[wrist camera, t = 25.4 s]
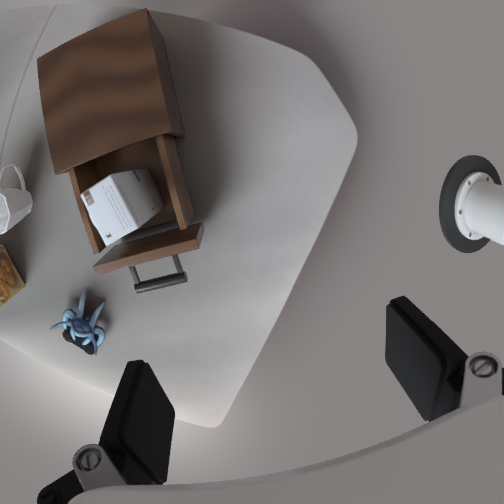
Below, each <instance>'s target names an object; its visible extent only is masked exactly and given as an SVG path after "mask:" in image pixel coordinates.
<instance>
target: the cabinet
mask: <svg viewBox="0 0 504 504" xmlns="http://www.w3.org/2000/svg"><path fill="white" fill-rule="evenodd" d="M37 67H38V78H39V88H40V96H41V104H42V110H43V117H44V123H45V129H46V134H47V139H48V144H49V149H50V154H51V158H52V163H53V167H54V171H55V175H57V174H62V173H67V172H69V171H68V170H69V169H71V168H74V167H76V166H78V165H81V164H83V163H85V162H88V161H90V160H93V159H95V158H98V157H100V156H103V155H105V154H108V153H111V152H113V151H116V150H119V149H121V148H124V147H127V146H130V145H133V144H135V143H138V142H141V141H144V140H147V139H150V138H153V137H157V136H160V135H163V134H166V133H167V134H171V135H174V138H175V139H177V138H180V137H183V136H185V132H184V128H183V124H182V120H181V115H180V111H179V107H178V103H177V98H176V94H175V90H174V85H173V81H172V76H171V72H170V67H169V63H168V58H167V53H166V49H165V44H164V39H163V36H162V34H161V33H160V31H159V29H158V28H157V26H156V24H155V22H154V21H153V19H152V17H151V16H150V14H149V12H148V10H147V9H146V8H145V9H142V10H139V11H136V12H134V13H131V14H128V15H125V16H123V17H120V18H118V19H115V20H113V21H110V22H108V23H106V24H103V25H101V26H99V27H96V28H94V29H92V30H90V31H88V32H86V33H84V34H82V35H80V36H77V37H75V38H74V39H72V40H70V41H68V42H66V43H64V44H62V45H60V46H58V47H57V48H55V49H53V50H51V51H50V52H48V53H46V54H44V55H43V56H41V57H39V58H38V59H37Z"/></svg>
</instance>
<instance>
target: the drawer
mask: <svg viewBox="0 0 504 504" xmlns="http://www.w3.org/2000/svg"><path fill="white" fill-rule="evenodd" d="M141 168H147V169H148V171H149V173H150V174H151V176H152V178H153V180H154V182H155V184H156V186H157V188H158V190H159V192H160V195H161V197H162V199H163V202H164V204H165V208H163V209H162V210H161V211H159V212H158V213H157V214H156V215H154V216H153V217H152V218H151V219H149V220H148V221H147V222H146V223H144V224H143V225H142V226H141V227H140V228H138V229H136V230H134V231H132V232H135V231H138V230H142V229H145V228H149V227H152V226H156V225H159V224H163V223H167V222H170V221H174V220H178V224H179V228H176V229H172V230H168V231H165V232H161V233H157V234H154V235H150V236H146V237H143V238H139V239H136V240H132V241H129V242H125V243H122V244H118V245H115V246H114V247H113V248H112V249H111V250H110V251H109V252H108V253H106V254H105V255H104V256H103V257H102V258H101V259H100V260H99V261H98V262H97V263H96V264H95V265H94V266H93V267H94V270H95V273H96V275H98V274H102V273H106V272H110V271H113V270H117V269H121V268H125V267H129V268H130V271H131V274H132V276H133V279H134V282H135V284H134V288H135V291H136V293H142V292H146V291H151V290H155V289H159V288H164V287H168V286H172V285H176V284H181V283H185V282H187V275H186V272H185V271H183V269H182V266H181V263H180V260H179V257H178V254H180V253H184V252H187V251H191V250H195V249H199V247H200V243H201V240H202V236H203V232H204V226H203V223H202V222H199V223H195V224H191V225H189V223H190V221H191V219H192V217H193V215H194V211H193V207H192V203H191V200H190V196H189V192H188V189H187V185H186V181H185V177H184V173H183V170H182V166H181V162H180V158H179V154H178V150H177V146H176V142H175V138H174V135H171V134H167V133H166V134H163V135H160V136H157V137H153V138H150V139H147V140H144V141H141V142H138V143H135V144H133V145H130V146H127V147H124V148H121V149H119V150H116V151H113V152H111V153H108V154H105V155H103V156H100V157H98V158H95V159H93V160H90V161H88V162H85V163H83V164H81V165H78V166H76V167H74V168H71V169H69V170H68V171H69V174H70V178H71V182H72V186H73V189H74V193H75V197H76V200H77V203H78V207H79V210H80V213H81V217H82V220H83V223H84V226H85V229H86V232H87V235H88V238H89V241H90V244H91V246H92V249H93V252H94V254H97V253H100V252H101V251H102V250H103V249H104V248H105V247H106V245H105V243H104V241H103V239H102V237H101V235H100V233H99V232H98V230H97V228H96V227H95V226H94V224H93V223H92V221H91V218H90V216H89V212H88V210H87V208H86V206H85V204H84V202H83V200H82V198H81V193H83V192H84V191H86V190H87V189H89V188H90V187H92V186H93V185H95V184H96V183H98V182H99V181H101V180H103V179H104V178H106V177H107V176H109V175H110V174H115V173H121V172H126V171H131V170H136V169H141ZM130 233H131V232H130ZM168 256H172V257H173V260H174V263H175V266H176V269H177V272H178V273H175V274H170V275H166V276H162V277H158V278H154V279H150V280H146V281H141V282H140V279H139V277H138V274H137V271H136V268H135V266H134V265H136V264H140V263H144V262H148V261H152V260H156V259H160V258H164V257H168Z"/></svg>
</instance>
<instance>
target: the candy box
mask: <svg viewBox="0 0 504 504" xmlns="http://www.w3.org/2000/svg"><path fill="white" fill-rule="evenodd" d="M24 286H25V284H24V282H23V280H22V279H21V277H20V275H19V273H18V272H17V270H16V268H15V266H14V264H13V263H12V261H11V259H10V257H9V255H8V253H7V251H6V249H5V247H4V245H3V244H2V245H0V307H1V306H2V305H3V304H4V303H6V302H7V301H8V300H9V299H10V298H11V297H13V296H14V295H15V294H16V293H17V292H19V291H20V290H21V289H22V288H23V287H24Z"/></svg>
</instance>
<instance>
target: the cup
mask: <svg viewBox="0 0 504 504" xmlns="http://www.w3.org/2000/svg"><path fill="white" fill-rule="evenodd" d="M10 167H14V168H15V170H16V171H17V174H18V176H19V178H20V182H21V190H20V189H16V188H2V180H1V179H2V175H3V174H4V172H5V171H6V170H7V169H8V168H10ZM32 206H33V200H32V196H31V193H30V192H28V191H27V190H26V185H25V180H24V177H23V174H22V172H21V170H20V168H19V167H18V165H15V164H10V165H7V166H5V167H3V168H2V169H1V171H0V235H1V234H3V233H5V232H7V231H8V230H9V229H10V228H12V227H13V226H14V225H15V224H17V223H18V222H19V221H21V220H22V219H23V218H24V217H25V216H26V215H27V214H28V213H30V212H31V209H32Z"/></svg>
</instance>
